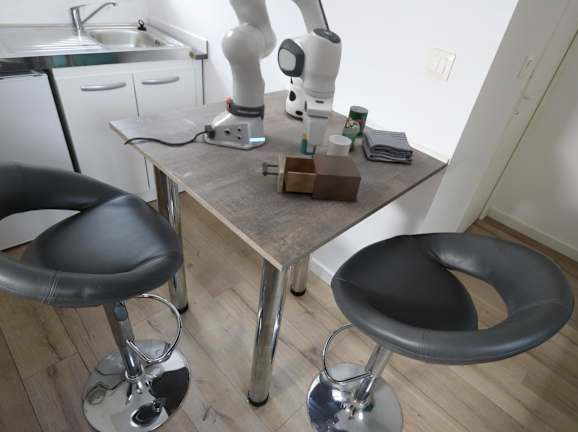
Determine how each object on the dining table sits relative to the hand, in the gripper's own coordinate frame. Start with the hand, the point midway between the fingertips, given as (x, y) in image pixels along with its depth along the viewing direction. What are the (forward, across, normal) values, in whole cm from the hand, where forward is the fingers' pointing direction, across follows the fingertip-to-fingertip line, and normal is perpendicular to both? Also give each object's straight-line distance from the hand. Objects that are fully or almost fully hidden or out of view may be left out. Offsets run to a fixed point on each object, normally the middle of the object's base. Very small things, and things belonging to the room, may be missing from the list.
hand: (308, 146), depth 101 cm
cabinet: (+14, -2, +10) cm, 18 cm away
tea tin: (+2, 0, 0) cm, 2 cm away
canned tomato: (+15, -51, +27) cm, 59 cm away
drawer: (+14, -2, -4) cm, 14 cm away
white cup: (+15, -18, +13) cm, 27 cm away
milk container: (+15, -66, +6) cm, 68 cm away
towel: (+15, -32, +36) cm, 50 cm away
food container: (+15, -34, +21) cm, 43 cm away
